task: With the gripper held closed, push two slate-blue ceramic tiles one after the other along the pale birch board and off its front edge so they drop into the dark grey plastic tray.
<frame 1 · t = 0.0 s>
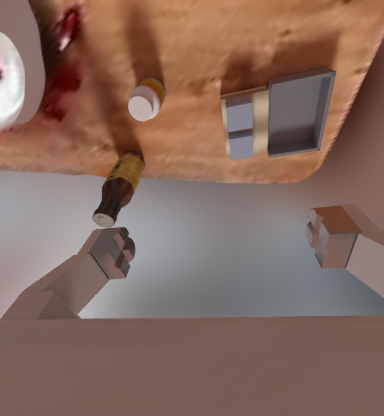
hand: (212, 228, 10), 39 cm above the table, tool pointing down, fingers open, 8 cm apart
sauce bottle: (133, 161, 53), on the table
tile b: (240, 142, 44), point 3 cm above the table, touching board
tray: (292, 113, 42), on the table
supplement bottle: (152, 92, 42), on the table
board: (244, 121, 44), on the table
tile a: (238, 113, 40), point 3 cm above the table, touching board
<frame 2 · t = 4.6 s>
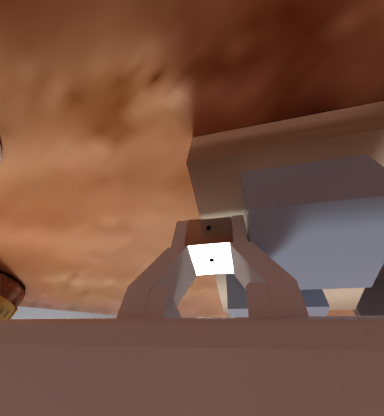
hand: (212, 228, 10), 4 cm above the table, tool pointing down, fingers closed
tile b: (266, 287, 13), point 3 cm above the table, touching board
board: (277, 217, 13), on the table
tile a: (295, 209, 9), point 3 cm above the table, touching gripper
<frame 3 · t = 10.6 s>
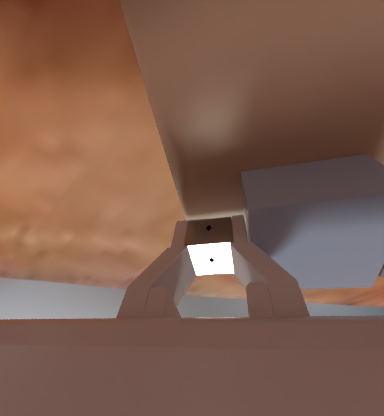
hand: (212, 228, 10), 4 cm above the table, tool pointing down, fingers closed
tile b: (295, 209, 9), point 3 cm above the table, touching gripper
board: (263, 123, 10), on the table
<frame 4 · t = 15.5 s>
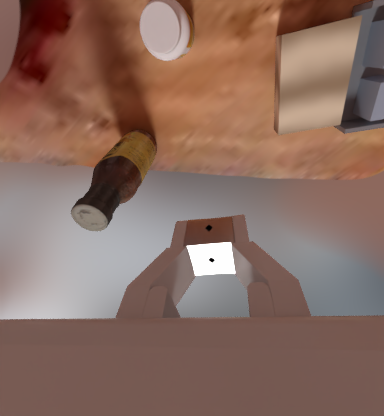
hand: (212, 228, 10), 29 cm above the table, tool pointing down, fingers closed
sauce bottle: (141, 146, 38), on the table
tile b: (365, 99, 29), point 3 cm above the table, tilted 90°, touching tray
tray: (381, 65, 28), on the table
supplement bottle: (174, 33, 28), on the table
board: (306, 81, 30), on the table
tile a: (377, 44, 25), point 3 cm above the table, tilted 90°, touching tray
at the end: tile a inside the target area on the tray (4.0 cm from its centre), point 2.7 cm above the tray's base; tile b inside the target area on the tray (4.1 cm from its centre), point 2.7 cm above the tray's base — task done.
